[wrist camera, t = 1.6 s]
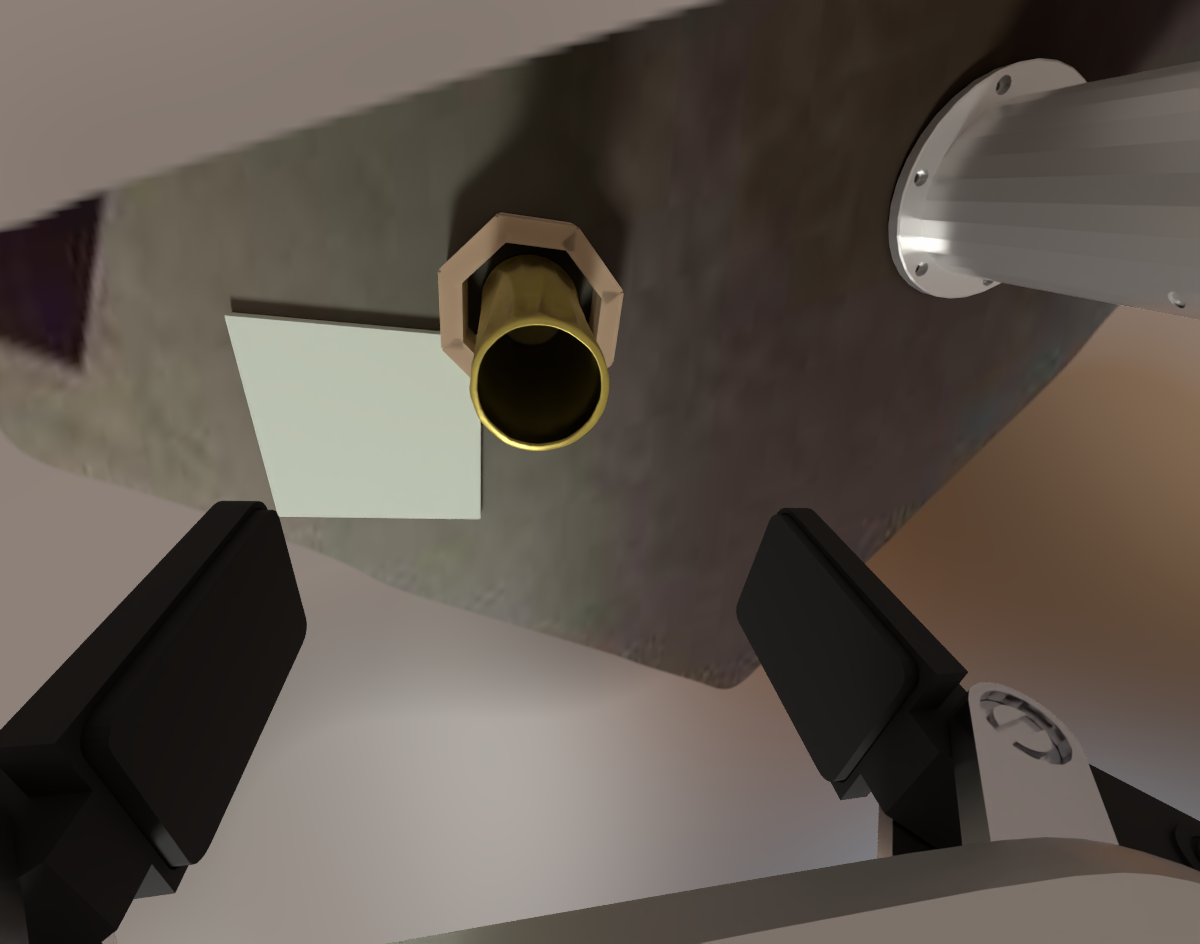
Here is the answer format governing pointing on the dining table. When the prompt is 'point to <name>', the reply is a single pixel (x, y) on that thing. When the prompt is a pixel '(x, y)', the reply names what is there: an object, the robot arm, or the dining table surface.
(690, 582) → the dining table surface
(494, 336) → the vase
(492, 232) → the ring
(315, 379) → the mat
